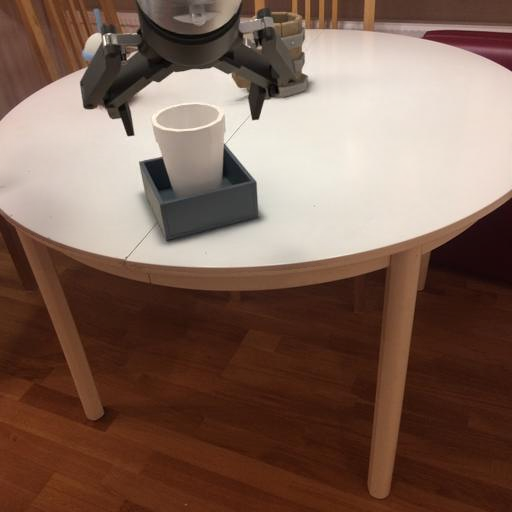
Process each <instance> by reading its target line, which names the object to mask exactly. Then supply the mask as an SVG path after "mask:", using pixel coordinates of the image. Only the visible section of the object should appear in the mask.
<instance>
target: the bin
mask: <svg viewBox="0 0 512 512" xmlns="http://www.w3.org/2000/svg"><path fill="white" fill-rule="evenodd" d="M138 165H139V169H140V175H141V180H142V184H143V185H142V186H143V190H144V194H145V197H146V199H147V201H148V203H149V206H150V208H151V210H152V212H153V215H154V217H155V219H156V222H157V223H158V225H159V228H160V230H161V233H162V234H163V236H164V239H165V241H171V240H174V239H178V238H183V237H186V236H190V235H194V234H198V233H201V232H205V231H210V230H213V229H218V228H221V227H225V226H228V225H233V224H236V223H241V222H244V221H248V220H253V219H257V218H259V203H258V201H259V200H258V185H257V184H258V183H257V180H256V179H255V178H254V176H252V174H251V173H250V172H249V171H248V169H247V168H246V167H245V166H244V164H243V163H242V162H241V161H240V160H239V159H238V158H237V156H236V155H235V154H234V153H233V151H232V150H231V149H230V148H229V146H228V145H227V144H226V143H225V142H224V150H223V173H222V188H219V189H215V190H211V191H207V192H202V193H198V194H194V195H190V196H185V197H181V198H177V199H176V198H175V195H174V192H173V189H172V186H171V182H170V179H169V176H168V173H167V170H166V167H165V163H164V160H163V157H162V156H160V157H154V158H149V159H145V160H140V161H138Z"/></svg>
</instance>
